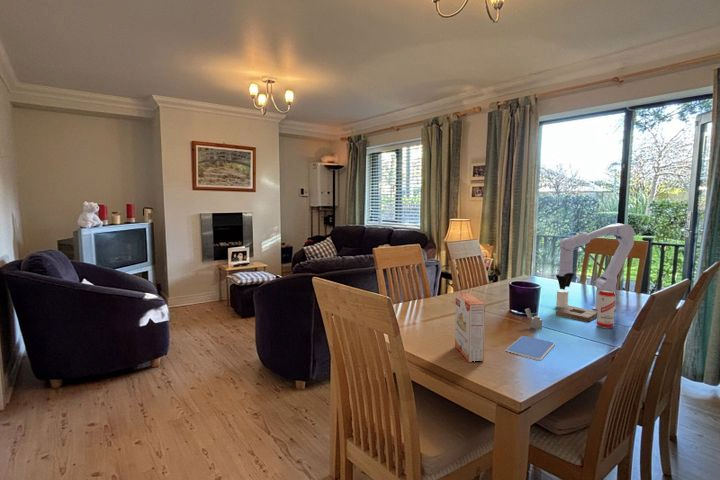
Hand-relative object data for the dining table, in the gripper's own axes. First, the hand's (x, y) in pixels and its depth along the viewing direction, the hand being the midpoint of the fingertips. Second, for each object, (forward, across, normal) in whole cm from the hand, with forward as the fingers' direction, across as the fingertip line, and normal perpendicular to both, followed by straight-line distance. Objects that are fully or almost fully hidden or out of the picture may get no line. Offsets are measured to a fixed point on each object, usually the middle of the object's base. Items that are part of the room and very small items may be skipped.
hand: (564, 287), depth 192 cm
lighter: (+11, +42, -1) cm, 43 cm away
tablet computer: (+11, +65, +7) cm, 67 cm away
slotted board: (+10, +9, +9) cm, 16 cm away
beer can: (+11, +19, +22) cm, 31 cm away
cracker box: (+11, +87, -7) cm, 88 cm away
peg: (+10, -2, -1) cm, 11 cm away
